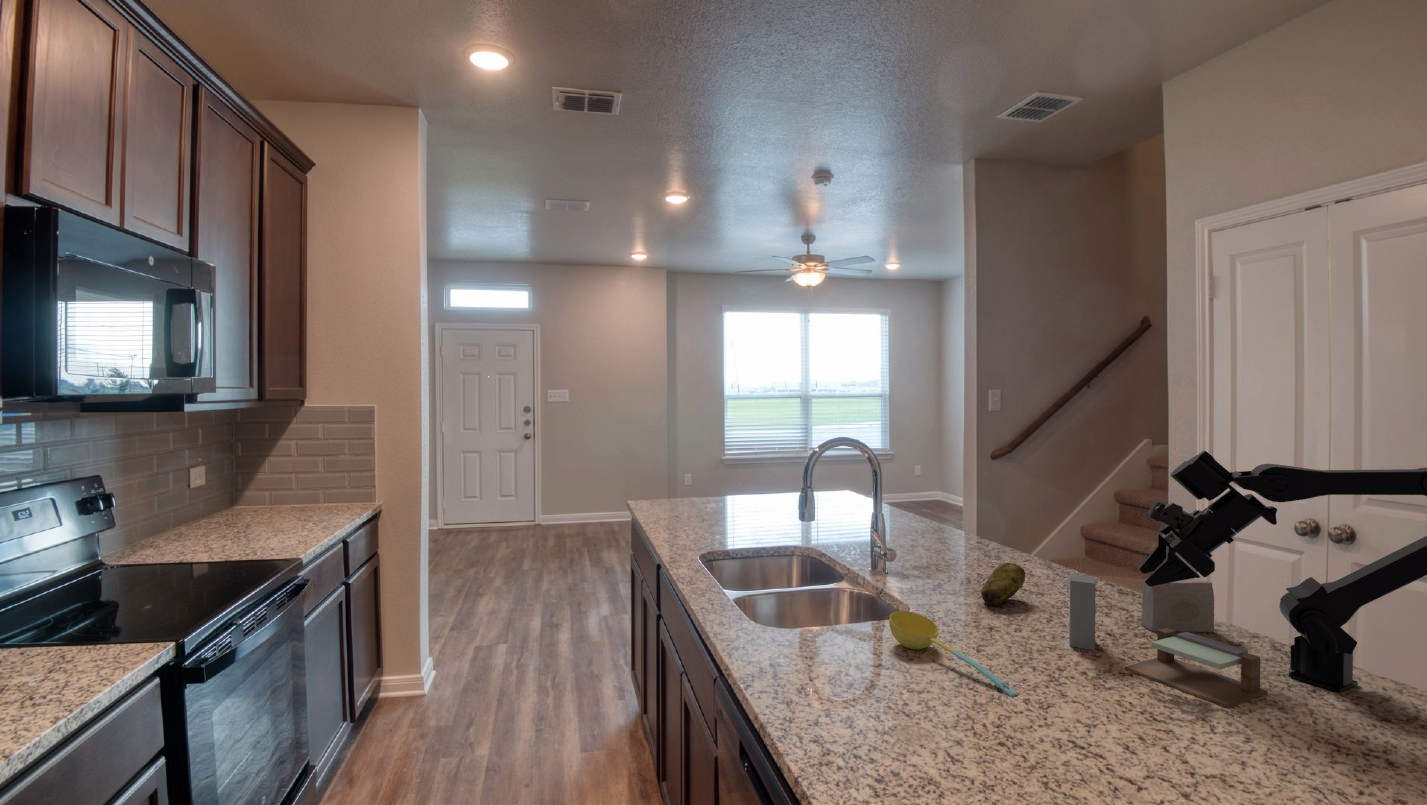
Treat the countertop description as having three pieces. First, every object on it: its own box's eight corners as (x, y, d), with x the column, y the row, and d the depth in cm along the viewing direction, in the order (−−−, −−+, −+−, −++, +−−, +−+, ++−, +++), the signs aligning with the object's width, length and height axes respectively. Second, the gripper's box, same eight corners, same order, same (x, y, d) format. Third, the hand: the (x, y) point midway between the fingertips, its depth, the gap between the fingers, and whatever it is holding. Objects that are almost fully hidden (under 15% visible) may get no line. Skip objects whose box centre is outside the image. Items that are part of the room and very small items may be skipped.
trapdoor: (1251, 662, 103) (1251, 651, 103) (1219, 673, 100) (1219, 661, 100) (1183, 641, 112) (1183, 630, 112) (1151, 649, 109) (1151, 639, 109)
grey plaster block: (1201, 626, 130) (1202, 578, 130) (1215, 632, 127) (1215, 583, 126) (1140, 625, 130) (1140, 577, 130) (1151, 632, 127) (1152, 583, 127)
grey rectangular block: (1093, 641, 122) (1094, 576, 122) (1095, 650, 118) (1095, 583, 118) (1069, 637, 124) (1069, 574, 124) (1069, 646, 120) (1070, 580, 119)
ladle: (911, 629, 126) (917, 602, 125) (1026, 721, 103) (1034, 688, 102) (875, 635, 122) (881, 606, 121) (985, 731, 99) (994, 697, 98)
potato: (965, 599, 147) (965, 563, 147) (1008, 592, 152) (1008, 558, 152) (993, 610, 139) (994, 573, 139) (1038, 603, 144) (1038, 567, 144)
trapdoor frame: (1267, 693, 101) (1267, 657, 101) (1226, 707, 96) (1227, 670, 96) (1164, 657, 114) (1165, 626, 114) (1124, 668, 110) (1125, 636, 110)
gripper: (1172, 479, 122) (1103, 532, 127) (1189, 492, 105) (1109, 553, 111) (1225, 524, 118) (1152, 578, 124) (1251, 545, 102) (1166, 606, 107)
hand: (1144, 577), depth 116 cm, fingers open, 9 cm apart
